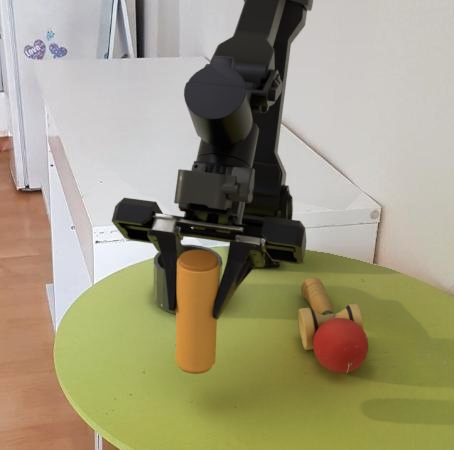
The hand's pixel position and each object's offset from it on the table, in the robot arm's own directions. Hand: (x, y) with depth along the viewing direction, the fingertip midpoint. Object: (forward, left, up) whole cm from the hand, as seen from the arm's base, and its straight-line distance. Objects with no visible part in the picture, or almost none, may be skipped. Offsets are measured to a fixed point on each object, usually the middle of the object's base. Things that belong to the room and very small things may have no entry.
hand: (192, 314), depth 72 cm
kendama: (-13, +17, -12) cm, 24 cm away
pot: (-22, 0, -12) cm, 25 cm away
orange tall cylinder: (-1, 0, -7) cm, 7 cm away
